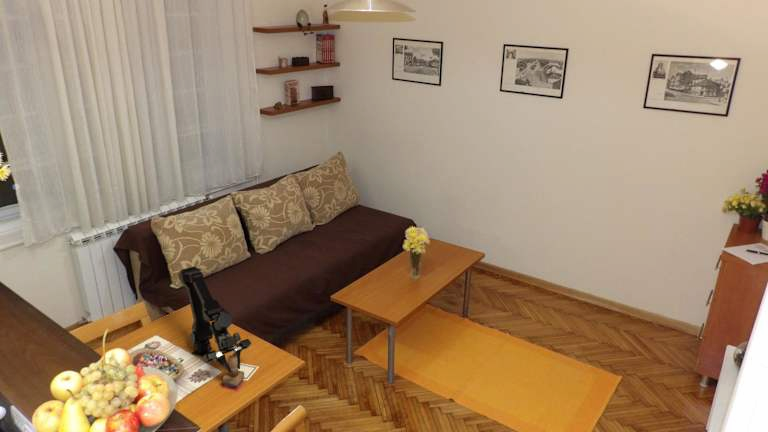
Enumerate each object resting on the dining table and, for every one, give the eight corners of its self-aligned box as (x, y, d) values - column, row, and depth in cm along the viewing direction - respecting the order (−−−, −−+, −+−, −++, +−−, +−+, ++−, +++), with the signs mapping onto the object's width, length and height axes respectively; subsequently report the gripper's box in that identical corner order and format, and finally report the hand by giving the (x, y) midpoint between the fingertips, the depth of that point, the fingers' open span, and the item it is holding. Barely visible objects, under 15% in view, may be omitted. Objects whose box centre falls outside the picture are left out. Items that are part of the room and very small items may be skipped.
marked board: (225, 377, 233) (225, 375, 233) (238, 364, 242) (237, 362, 242) (247, 382, 231) (247, 380, 230) (259, 368, 240) (259, 366, 239)
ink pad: (219, 390, 225) (219, 388, 225) (228, 380, 232) (228, 378, 231) (237, 394, 223) (237, 392, 223) (246, 383, 230) (246, 381, 229)
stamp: (223, 383, 224) (221, 360, 220) (231, 375, 230) (229, 352, 226) (236, 386, 223) (235, 363, 219) (244, 377, 228) (243, 354, 224)
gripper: (203, 335, 216) (217, 374, 212) (248, 321, 227) (262, 357, 223) (197, 344, 224) (210, 381, 220) (240, 329, 235) (253, 364, 231)
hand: (234, 370), depth 223 cm, fingers closed on stamp, 4 cm apart
